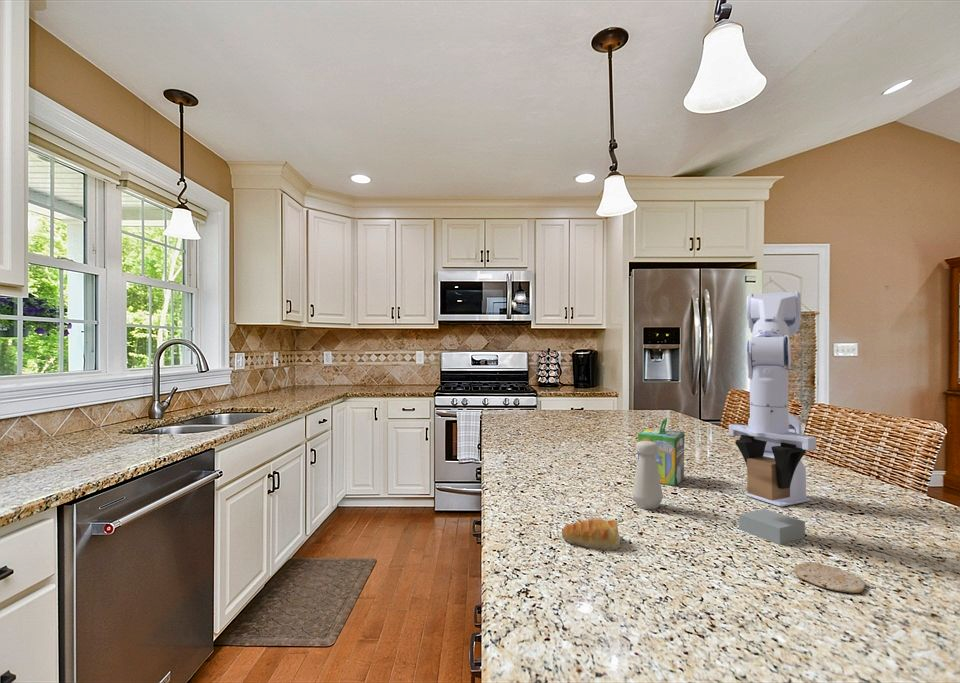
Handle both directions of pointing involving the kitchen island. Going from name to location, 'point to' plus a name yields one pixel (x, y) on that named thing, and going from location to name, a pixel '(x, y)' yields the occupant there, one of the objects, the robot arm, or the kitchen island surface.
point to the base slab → (772, 526)
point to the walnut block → (764, 479)
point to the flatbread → (829, 577)
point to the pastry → (593, 534)
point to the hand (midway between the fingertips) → (769, 483)
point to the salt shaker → (647, 477)
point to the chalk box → (667, 452)
